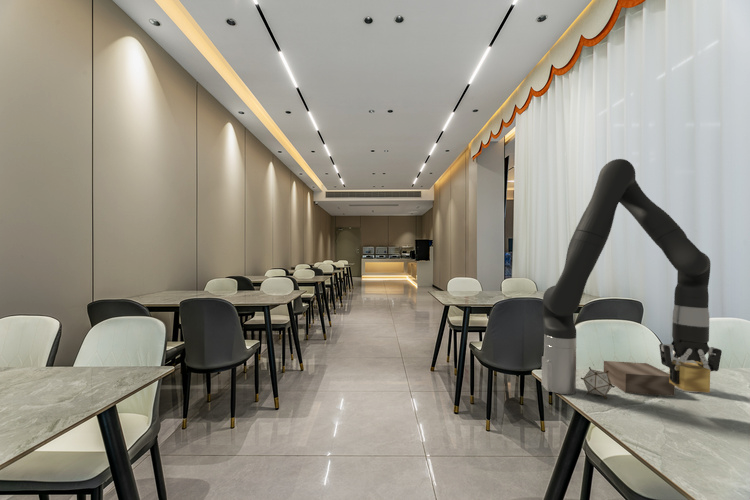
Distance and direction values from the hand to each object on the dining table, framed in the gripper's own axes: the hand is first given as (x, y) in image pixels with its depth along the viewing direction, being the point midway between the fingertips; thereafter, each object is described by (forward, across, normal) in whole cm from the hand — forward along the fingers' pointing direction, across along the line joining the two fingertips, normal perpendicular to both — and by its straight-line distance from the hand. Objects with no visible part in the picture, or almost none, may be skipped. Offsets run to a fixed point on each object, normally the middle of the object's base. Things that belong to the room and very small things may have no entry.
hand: (688, 384), depth 96 cm
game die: (+9, -18, +10) cm, 23 cm away
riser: (+8, -2, +21) cm, 23 cm away
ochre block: (+1, 0, 0) cm, 1 cm away
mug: (+8, +13, +24) cm, 28 cm away
